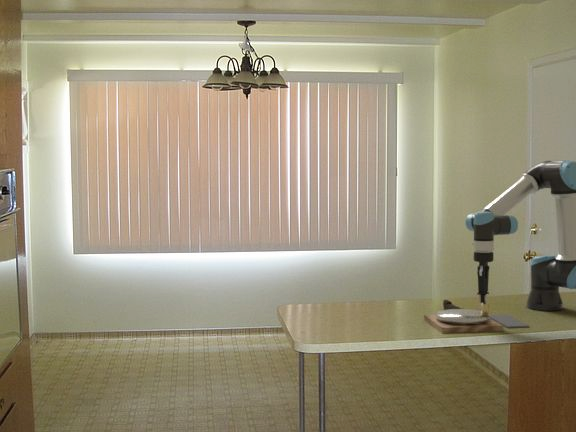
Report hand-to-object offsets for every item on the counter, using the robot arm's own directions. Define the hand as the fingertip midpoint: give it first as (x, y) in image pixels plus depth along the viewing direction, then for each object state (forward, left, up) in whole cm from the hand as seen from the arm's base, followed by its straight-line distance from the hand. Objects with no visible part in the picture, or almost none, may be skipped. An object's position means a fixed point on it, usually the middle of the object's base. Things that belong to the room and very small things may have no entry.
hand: (483, 310), depth 297 cm
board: (+7, -3, -6) cm, 10 cm away
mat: (-13, -6, -6) cm, 15 cm away
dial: (+7, -3, -4) cm, 9 cm away
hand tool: (+4, -26, -7) cm, 27 cm away
